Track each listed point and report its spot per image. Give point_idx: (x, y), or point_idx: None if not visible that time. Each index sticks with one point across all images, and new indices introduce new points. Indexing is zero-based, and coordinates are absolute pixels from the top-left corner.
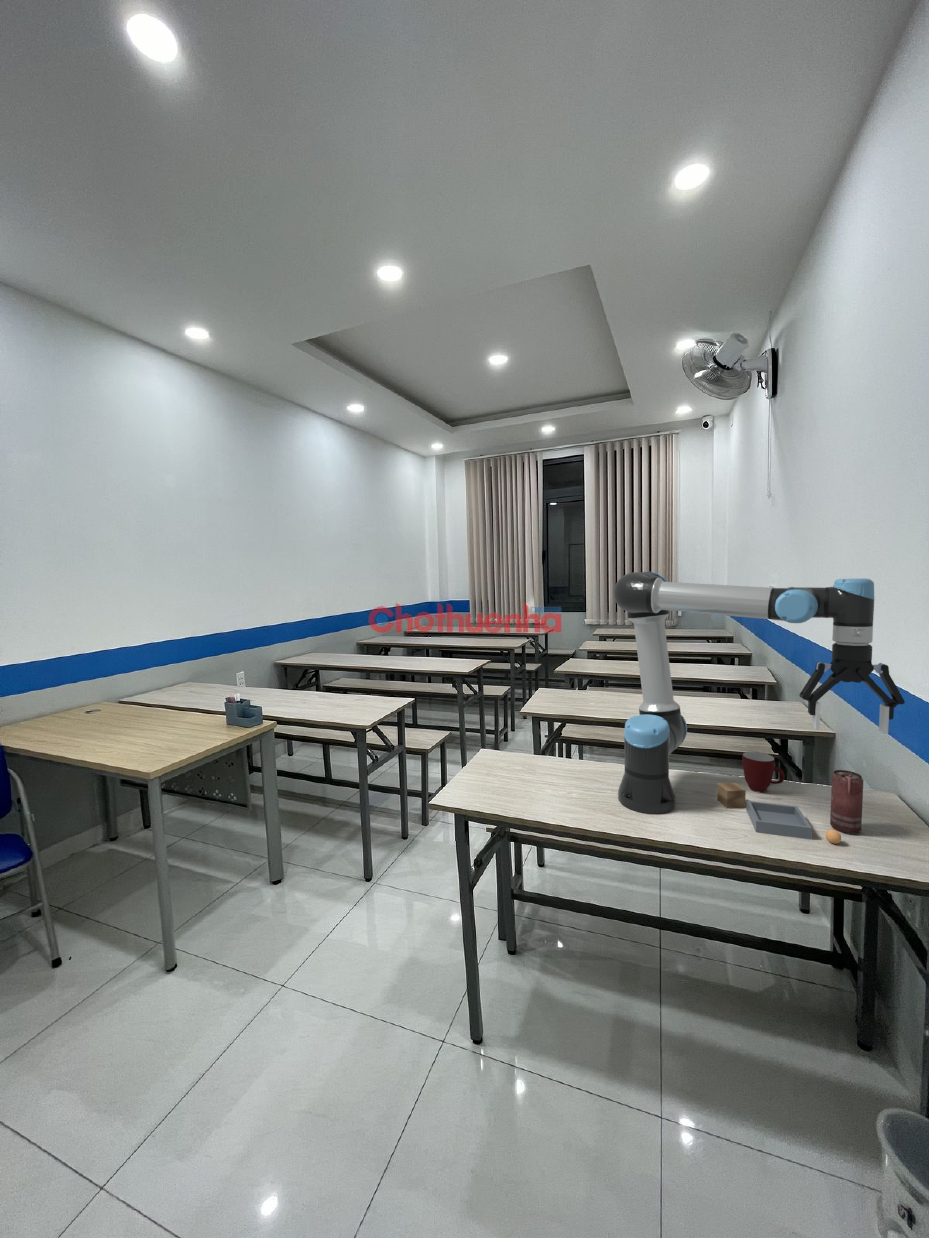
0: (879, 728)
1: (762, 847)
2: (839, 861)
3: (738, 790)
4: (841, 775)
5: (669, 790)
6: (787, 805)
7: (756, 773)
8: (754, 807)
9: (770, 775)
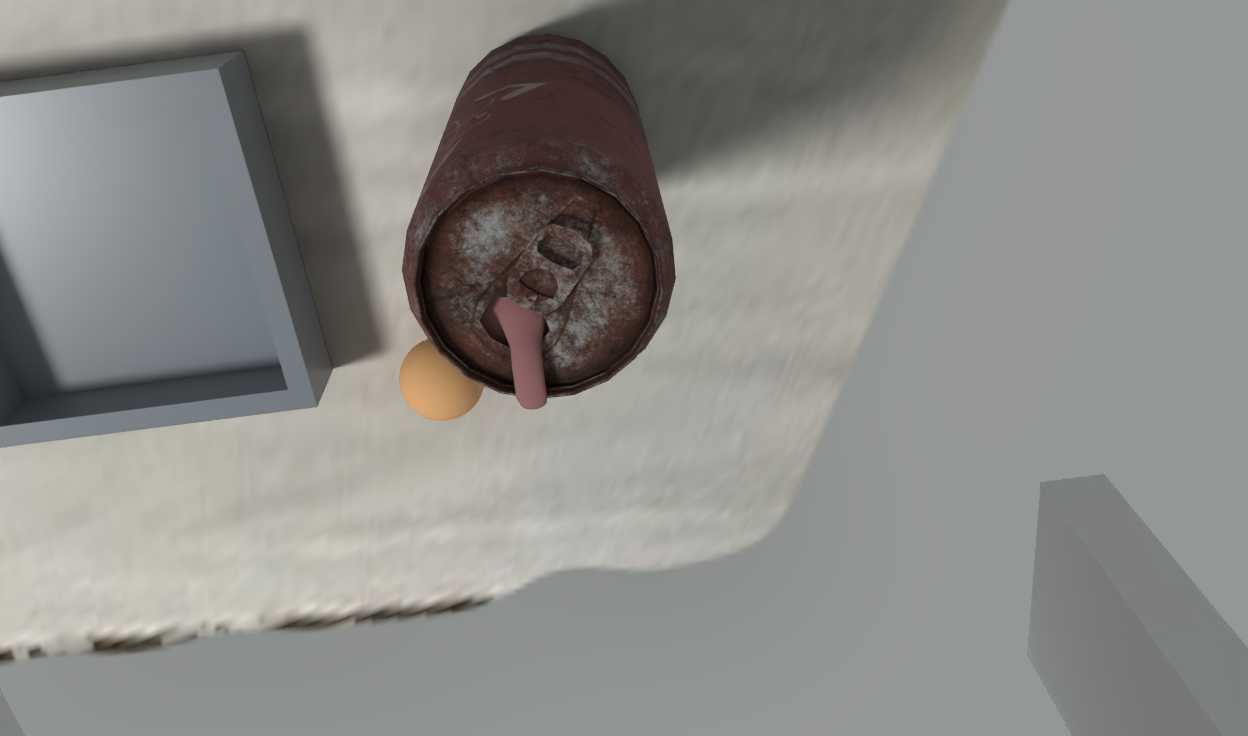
0: (1058, 529)
1: (90, 561)
2: (452, 544)
3: None
4: (483, 300)
5: None
6: (144, 86)
7: None
8: None
9: None
